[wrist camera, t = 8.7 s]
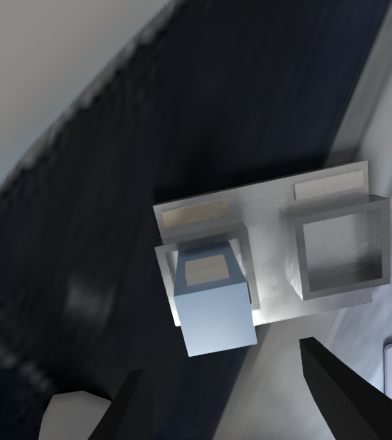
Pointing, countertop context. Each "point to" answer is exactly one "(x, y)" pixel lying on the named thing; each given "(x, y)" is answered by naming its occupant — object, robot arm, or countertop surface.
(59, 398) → the flask
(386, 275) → the panel
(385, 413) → the robot arm
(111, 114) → the countertop surface
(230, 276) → the plug
